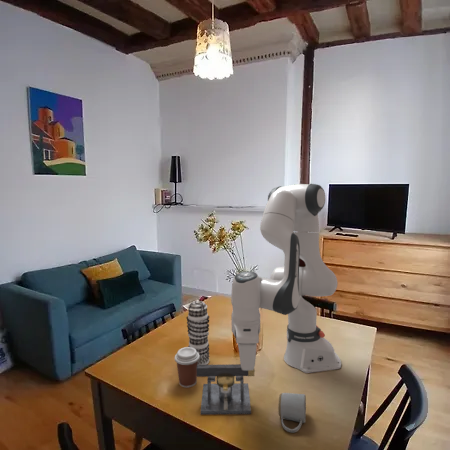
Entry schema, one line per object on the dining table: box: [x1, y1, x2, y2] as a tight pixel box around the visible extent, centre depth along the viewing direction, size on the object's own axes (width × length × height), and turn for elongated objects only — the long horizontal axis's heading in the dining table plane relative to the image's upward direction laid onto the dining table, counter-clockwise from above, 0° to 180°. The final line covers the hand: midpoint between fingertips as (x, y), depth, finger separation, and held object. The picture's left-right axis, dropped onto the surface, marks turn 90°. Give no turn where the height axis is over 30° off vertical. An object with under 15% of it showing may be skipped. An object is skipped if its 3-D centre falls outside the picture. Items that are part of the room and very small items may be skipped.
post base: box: [200, 376, 252, 416], centre depth 111 cm, size 16×14×8 cm
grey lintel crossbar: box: [197, 363, 255, 391], centre depth 110 cm, size 19×9×6 cm, turn 90°
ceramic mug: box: [277, 392, 307, 434], centre depth 100 cm, size 11×8×8 cm
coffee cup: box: [174, 346, 200, 388], centre depth 120 cm, size 9×9×12 cm
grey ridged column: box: [185, 300, 210, 365], centre depth 133 cm, size 9×9×25 cm
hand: (245, 367), depth 102 cm, fingers closed
